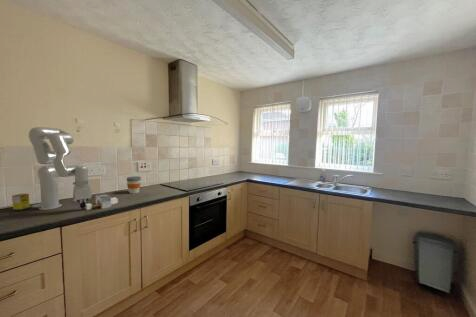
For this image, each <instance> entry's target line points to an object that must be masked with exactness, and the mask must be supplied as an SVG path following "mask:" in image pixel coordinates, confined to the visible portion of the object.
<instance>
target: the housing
mask: <svg viewBox="0 0 476 317" xmlns="http://www.w3.org/2000/svg"><path fill="white" fill-rule="evenodd" d="M111 198H112V197H111V196H110V195H108V194H106V193H99V194H95V205H96V204H100V206H99V207H100V209H107V208H111V207H112V204H111Z"/></svg>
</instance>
